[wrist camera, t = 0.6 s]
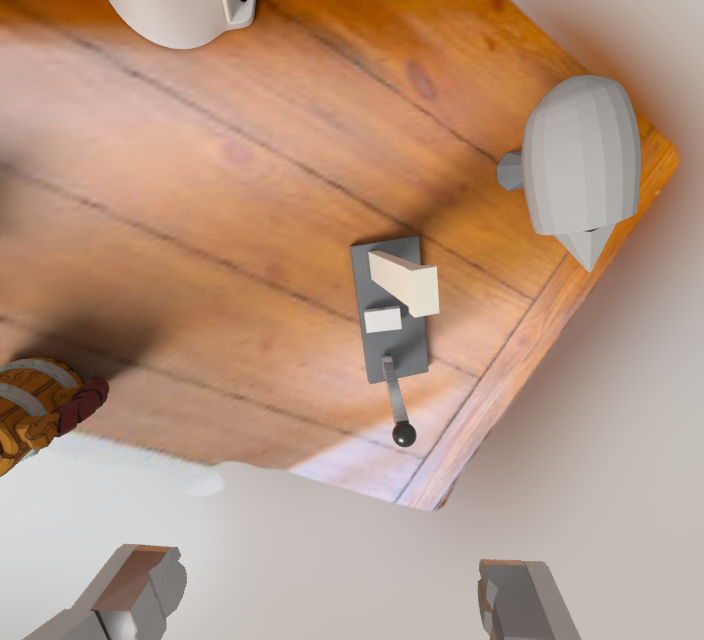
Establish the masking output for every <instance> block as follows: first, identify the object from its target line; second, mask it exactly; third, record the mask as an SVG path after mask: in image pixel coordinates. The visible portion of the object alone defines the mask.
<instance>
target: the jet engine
mask: <svg viewBox="0 0 704 640" xmlns="http://www.w3.org/2000/svg"><path fill="white" fill-rule="evenodd" d="M640 172H641V147H640V137H639V130H638V125H637V120H636V116H635V113H634V110H633V107H632V104H631V101H630V99H629V97H628V95H627V93H626V91H625V89H624V88H623V87H622V86H621V85H620V83H618V82H617V81H615V80H612V79H608V78H604V77H600V76H596V75H580V76H574V77H570V78H568V79H566V80H564V81H562V82H561V83H559V84H558V85H557V86H555V87H554V88H553V89H551V90H550V91H549V92H548V93H547V94H546V95H545V96H544V97H543V99H542V100H541V101H540V102H539V103H538V105H537V106H536V107H535V108H534V109H533V111H532V112H531V113H530V115H529V117H528V119H527V122H526V125H525V129H524V135H523V142H522V151H520V150H519V151H514V152H509V153H505V155H504V156H503V158H502V159H501V161H500V162H499V164H498V165H497V182H498V183H499V184H500V185H501V186H502V187H504V188H505V189H506V190H507V191H509V190H514V189H519V188H521V187H523V186H524V192H525V197H526V201H527V205H528V210H529V214H530V219H531V222H532V225H533V228H534V231H535V232H536V233H537V234H541V235H554V236H555V237H556V238H557V239H558V240H559V241H560V242H561V243H562V244H563V245H564V246H565V248H566V249H567V250H568V251H569V252H570V253H571V254H572V255H573V256H574V257H575V258H576V259H577V260H578V261H579V262H580V263H581V264H582V265H583V267H584V268H585V269H586V270H587V271H588V272H589V273H590V272H591V271H592V269H593V267H594V265H595V263H596V261H597V259H598V257H599V255H600V253H601V251H602V250H603V248H604V246H605V244H606V242H607V240H608V238H609V236H610V234H611V232H612V230H613V228H614V227H615V225H616V223H617V222H620V221H622V220H625V219H627V218H629V217H631V216H633V215H634V214H635V213H636V212H637V208H638V201H639V191H640Z"/></svg>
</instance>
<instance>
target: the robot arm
mask: <svg viewBox="0 0 704 640" xmlns="http://www.w3.org/2000/svg"><path fill="white" fill-rule="evenodd" d="M109 1H110V3H111V4H112V6H113V7H114V9H115V10H116V11H117V13H118V14H119V15H120V16H121V18H122V19H123V20H124V21H125V22H126V23H127V24H128V25H129V26H130V27H131V28H132V29H134V30H135V31H136V32H137V33H139V34H140V35H142V36H143V37H145V38H146V39H148V40H150V41H152V42H154V43H156V44H159V45H162V46H165V47H169V48H175V49H191V48H196V47H200V46H202V45H205V44H207V43H209V42H210V41H212V40H214V39H215V38H216V37H218V36H219V35H220V34H222V33H223V32H225V31H227V30H232V29H240V28H244V27H247V26H249V25H250V24H251V23H252V22H253V20H254V14H255V4H256V0H247V1H246V2H245V3H243V2H241V1H240V0H109ZM180 556H181V554H180V552H179V549H178V547H168V546H151V545H137V544H123V545H122V546H121V547H120V548H118V549H117V550H116V551H115V552H114V554H113V555H112V556H111V558H110V559H109V560H108V561H107V563H106V564H105V565H104V567H103V568H102V569H101V570H100V572H99V573H98V574H97V575H96V577H95V578H94V579H93V580H92V582H91V583H90V584H89V586H88V587H87V588H86V589H85V591H84V592H83V593H82V595H81V596H80V597H79V598H78V600H77V601H76V602H75V604H74V605H73V606H72V608H71V609H65V610H63V611H61V612H60V613H59V614H57V615H56V616H55V617H53V618H52V619H50V620H49V621H47V622H46V623H45V624H43V625H42V626H41V627H39V628H38V629H36V630H35V631H34V632H32V633H31V634H29V635H28V636H27V637H25V638H24V639H22V640H161V638H162V636H163V634H164V632H165V630H166V618H167V617H168V616H169V615H170V614H171V613H172V612H173V611H175V610H176V609H177V607H178V605H179V603H180V601H181V599H182V597H183V594H184V590H185V587H186V583H187V581H186V580H187V576H186V575H187V573H186V570H185V567H184V566H183V565H182V564H180V563H179V562H178V560H179V558H180ZM479 571H480V575H481V579H480V580H479V581H478V602H479V608H480V614H481V619H482V623H483V628H484V629H485V631H486V632H487V633H488V634H489V636H490V640H581V638H580V636H579V633H578V631H577V629H576V627H575V624H574V622H573V620H572V618H571V616H570V613H569V611H568V609H567V607H566V605H565V603H564V601H563V598H562V596H561V594H560V592H559V589H558V587H557V585H556V583H555V580H554V578H553V576H552V574H551V572H550V570H549V567H548V566H547V565H546V564H545V563H544V562H541V561H539V562H538V561H521V560H489V559H481V561H480V564H479Z"/></svg>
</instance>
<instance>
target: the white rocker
mask: <svg viewBox="0 0 704 640" xmlns="http://www.w3.org/2000/svg"><path fill="white" fill-rule="evenodd" d="M364 316H365V324H366V331H367V333H371V332H380V331H389V330H397V329H402V326H401V316H400V308H399V306H392V307H379V308H375V309H367V310H364Z"/></svg>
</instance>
